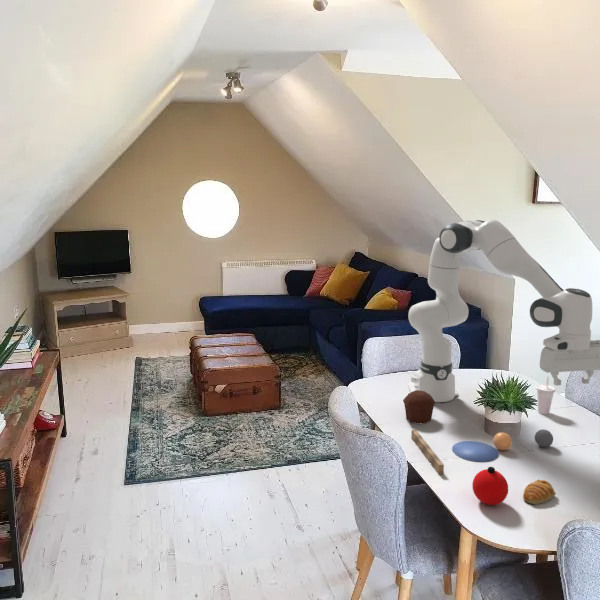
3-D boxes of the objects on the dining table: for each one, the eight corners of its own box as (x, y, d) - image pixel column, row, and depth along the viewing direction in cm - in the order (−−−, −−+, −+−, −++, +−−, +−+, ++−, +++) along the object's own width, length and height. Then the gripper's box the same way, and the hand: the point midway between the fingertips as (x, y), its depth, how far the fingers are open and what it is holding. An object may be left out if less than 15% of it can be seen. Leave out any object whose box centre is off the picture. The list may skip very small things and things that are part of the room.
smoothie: (545, 417, 203) (549, 380, 200) (530, 411, 208) (533, 375, 205) (556, 413, 206) (559, 377, 203) (541, 408, 211) (544, 372, 208)
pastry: (540, 510, 146) (541, 496, 145) (515, 499, 151) (516, 486, 150) (556, 496, 152) (557, 483, 151) (532, 487, 157) (533, 474, 156)
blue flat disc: (445, 443, 183) (445, 442, 183) (485, 440, 185) (486, 439, 185) (463, 463, 170) (463, 463, 170) (506, 460, 172) (507, 459, 172)
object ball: (489, 446, 181) (490, 430, 180) (505, 444, 182) (507, 428, 181) (497, 453, 176) (499, 437, 175) (514, 452, 176) (515, 436, 175)
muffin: (408, 410, 210) (409, 384, 208) (438, 415, 205) (439, 389, 203) (398, 421, 200) (399, 395, 198) (429, 428, 195) (430, 400, 193)
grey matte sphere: (530, 443, 183) (531, 427, 182) (546, 441, 184) (547, 426, 183) (539, 450, 178) (541, 434, 176) (556, 449, 178) (557, 433, 177)
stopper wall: (411, 438, 187) (411, 429, 186) (415, 438, 187) (416, 429, 187) (438, 474, 164) (438, 464, 163) (443, 474, 164) (443, 464, 163)
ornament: (482, 489, 155) (484, 456, 153) (513, 502, 149) (516, 468, 147) (464, 502, 150) (466, 467, 147) (496, 516, 143) (498, 480, 141)
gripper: (598, 337, 179) (595, 379, 181) (538, 340, 177) (535, 382, 179) (612, 342, 173) (608, 385, 175) (549, 345, 170) (546, 389, 173)
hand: (571, 384), depth 177 cm, fingers open, 8 cm apart
